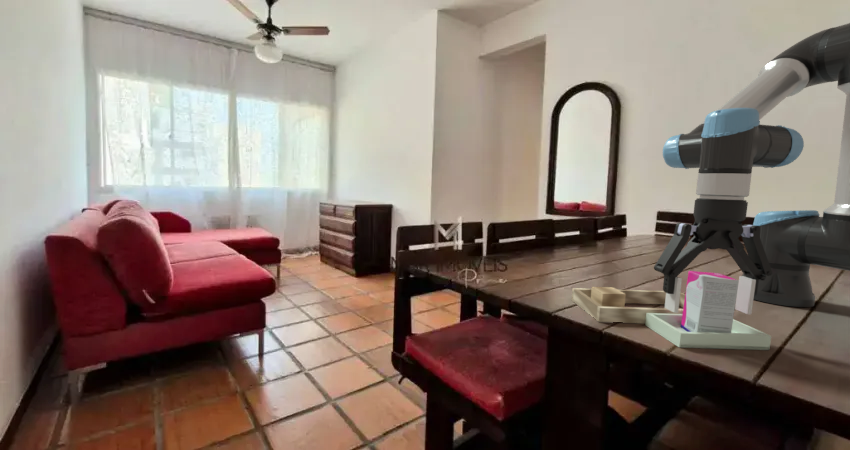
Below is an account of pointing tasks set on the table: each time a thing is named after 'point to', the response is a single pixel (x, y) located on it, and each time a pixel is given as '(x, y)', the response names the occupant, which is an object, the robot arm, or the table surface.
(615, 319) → the frame
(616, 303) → the oak block
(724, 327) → the supplement box
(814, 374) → the table surface
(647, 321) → the tray
